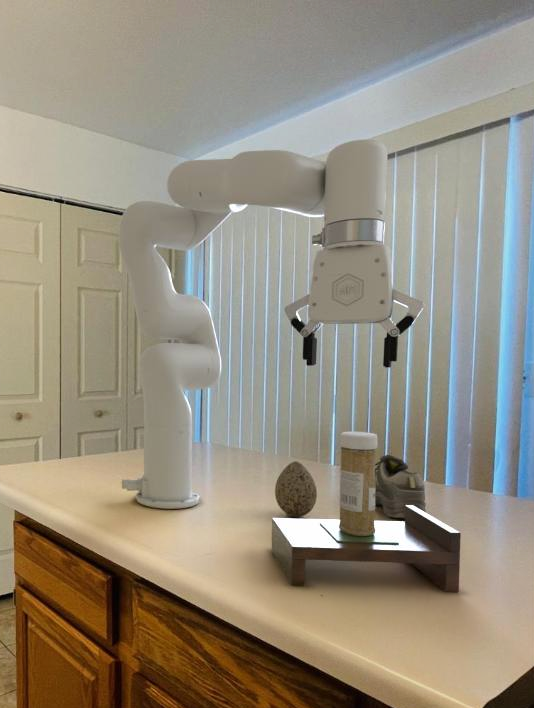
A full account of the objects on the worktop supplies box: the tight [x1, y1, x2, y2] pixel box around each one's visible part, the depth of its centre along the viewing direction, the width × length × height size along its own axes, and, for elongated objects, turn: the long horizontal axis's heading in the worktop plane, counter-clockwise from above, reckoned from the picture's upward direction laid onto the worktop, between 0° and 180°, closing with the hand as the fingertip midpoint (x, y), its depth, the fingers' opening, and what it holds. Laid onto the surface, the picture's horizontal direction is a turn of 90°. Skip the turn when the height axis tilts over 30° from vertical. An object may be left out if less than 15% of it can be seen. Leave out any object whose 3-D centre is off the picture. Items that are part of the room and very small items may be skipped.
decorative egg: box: [274, 461, 318, 518], centre depth 95 cm, size 7×7×10 cm
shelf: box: [270, 505, 462, 593], centre depth 71 cm, size 20×12×7 cm, turn 85°
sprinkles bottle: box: [339, 431, 378, 536], centre depth 70 cm, size 5×5×13 cm
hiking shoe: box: [375, 454, 427, 519], centre depth 101 cm, size 9×21×12 cm
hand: (347, 366), depth 72 cm, fingers open, 9 cm apart
